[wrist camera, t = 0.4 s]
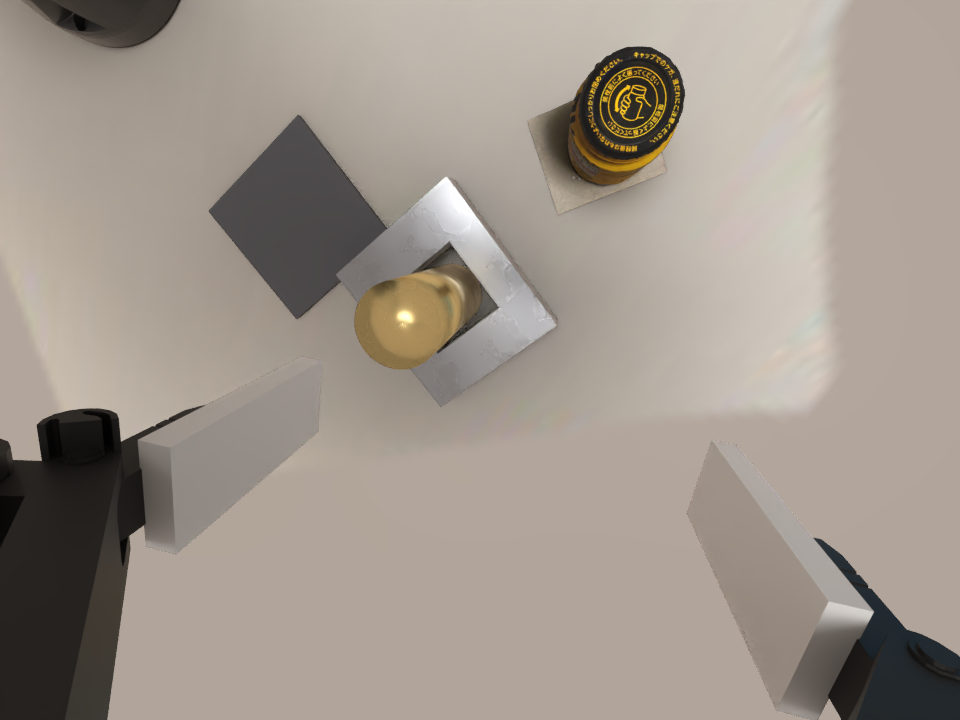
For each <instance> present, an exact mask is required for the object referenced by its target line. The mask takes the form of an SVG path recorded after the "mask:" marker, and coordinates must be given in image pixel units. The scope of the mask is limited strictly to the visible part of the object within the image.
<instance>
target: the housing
mask: <svg viewBox="0 0 960 720" xmlns="http://www.w3.org/2000/svg"><path fill="white" fill-rule="evenodd" d="M451 246H453V247H454V249H455V250H456V251H457V252H458V254H459V255H460V256H461V258H462V259H463V260H464V262H465V263H466V264H467V266H468V267H469V268H470V270H471V271H472V272H473V274H474V275H475V276H476V278H477V279H478V280H479V282H480V283H481V284H482V286H483V287H484V288H485V290H486V291H487V292H488V294H489V295H490V296H491V298H492V299H493V300H494V302H495V303H496V304H497V306H498V307H497V308H495V309H494V310H493V311H491V312H490V313H489V314H487V315H486V316H485V317H483V318H482V319H481V320H479V321H478V322H477V323H475V324H474V325H473V326H471V327H470V328H469V329H467V330H466V331H465V332H463V333H462V334H461V335H459V336H458V337H457V338H455V339H454V340H453V341H451V342H450V343H449V344H447V345H446V344H444V345H443V346H442V347H441V348H440V349H439V350H438V351H437V352H435V353H434V354H433V355H432V356H431V357H430V358H429V359H428V360H427V361H426V362H424V363H423V364H421V365H419V366H417V367H414V368H411V370H412V371H413V373H414V374H415V375H416V376H417V378H418V379H419V380H420V381H421V383H422V384H423V385H424V387H425V388H426V389H427V390H428V392H429V393H430V394H431V395H432V397H433V398H434V399H435V400H436V402H437V403H438V404H439V405H440V407H442V406H443V405H445V404H446V403H447V402H449V401H450V400H452V399H453V398H455V397H456V396H457V395H459V394H460V393H462V392H463V391H465V390H466V389H467V388H469V387H470V386H472V385H473V384H475V383H476V382H477V381H479V380H480V379H482V378H483V377H485V376H486V375H487V374H489V373H490V372H492V371H493V370H494V369H496V368H497V367H499V366H500V365H502V364H503V363H504V362H506V361H507V360H509V359H510V358H512V357H513V356H514V355H516V354H517V353H519V352H520V351H522V350H523V349H524V348H526V347H527V346H529V345H530V344H532V343H533V342H534V341H536V340H537V339H539V338H540V337H541V336H543V335H544V334H546V333H547V332H549V331H550V330H551V329H553V328H554V327H556V326H557V318H556V316H555V315H554V314H553V312H552V311H551V310H550V308H549V307H548V306H547V304H546V303H545V302H544V300H543V299H542V297H541V296H540V295H539V293H538V292H537V291H536V289H535V288H534V287H533V285H532V284H531V283H530V281H529V280H528V279H527V277H526V276H525V274H524V273H523V272H522V270H521V269H520V268H519V266H518V265H517V264H516V262H515V261H514V260H513V258H512V257H511V255H510V254H509V253H508V251H507V250H506V249H505V247H504V246H503V245H502V243H501V242H500V241H499V239H498V238H497V236H496V235H495V234H494V232H493V231H492V230H491V228H490V227H489V226H488V224H487V223H486V222H485V220H484V219H483V218H482V216H481V215H480V213H479V212H478V211H477V209H476V208H475V207H474V205H473V204H472V203H471V201H470V200H469V199H468V197H467V196H466V194H465V193H464V192H463V190H462V189H461V188H460V186H459V185H458V184H457V182H456V181H455V180H453V179H451V178H449V177H447V176H446V177H445V178H444V179H443V180H441V181H440V182H439V183H438V184H437V185H436V186H435V187H434V188H432V189H431V190H430V191H429V192H428V193H427V194H426V195H425V196H423V197H422V198H421V199H420V200H419V201H418V202H417V203H416V204H414V205H413V206H412V207H411V208H410V209H409V210H408V211H407V212H406V213H404V214H403V215H402V216H401V217H400V218H399V219H398V220H397V221H395V222H394V223H393V224H392V225H391V226H390V227H389V228H388V229H386V230H385V231H384V232H383V233H382V234H381V235H380V236H379V237H377V238H376V239H375V240H374V241H373V242H372V243H371V244H370V245H368V246H367V247H366V248H365V249H364V250H363V251H362V252H361V253H359V254H358V255H357V256H356V257H355V258H354V259H353V260H352V261H350V262H349V263H348V264H347V265H346V266H345V267H344V268H343V269H341V270H340V271H339V272H338V273H337V274H336V276H337V277H338V278H339V280H340V281H341V282H342V283H343V285H344V286H345V287H346V288H347V290H348V291H349V292H350V293H351V295H352V296H353V297H354V298H355V300H356V301H357V302H358V303H359V301H360V299H361V298H362V296H363V295H364V294H365V293H366V292H367V291H368V290H369V289H370V288H371V287H373V286H375V285H376V284H378V283H381V282H384V281H388V280H391V279H395V278H399V277H402V276H406V275H409V274H413V273H416V272H420V271H422V270H423V269H424V268H425V267H427V266H428V265H429V264H430V263H431V262H433V261H434V260H435V259H436V258H437V257H439V256H440V255H441V254H442V253H443V252H445V251H446V250H447V249H448V248H449V247H451Z"/></svg>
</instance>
